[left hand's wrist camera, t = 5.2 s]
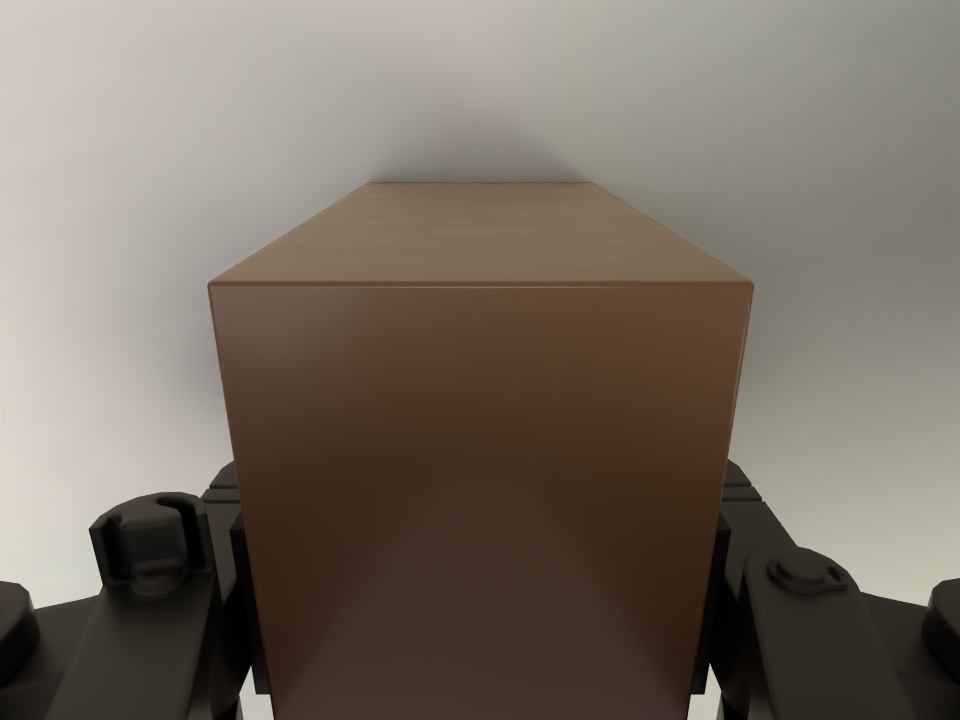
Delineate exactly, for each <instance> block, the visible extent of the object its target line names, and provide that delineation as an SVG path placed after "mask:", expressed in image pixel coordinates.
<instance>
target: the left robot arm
mask: <svg viewBox="0 0 960 720" xmlns="http://www.w3.org/2000/svg"><path fill="white" fill-rule="evenodd" d="M89 533H90V536H91V540H92V544H93V548H94V552H95V556H96V560H97V564H98V568H99V572H100V576H101V579H102V583H103V587H102V589H101V591H100V593H99V595H96V596H93V597H89V598H85V599H81V600H76V601H72V602H67V603H62V604H57V605H53V606H48V607H43V608H39V609H34V607H33V604H32V601H31V598H30V594H29V592H28V591H27V590H26V589H25V588H24V587H22V586H21V585H20V584H18V583H11V582H5V581H0V720H243V714H242V707H241V701H240V696H239V693H240V691H241V688H242V686H243V683H244V681H245V678H246V676H247V674H248V671H249V669H250V666H251V667H252V673H253V679H254V685H255V691H256V694H270V691H269V684H268V678H267V671H266V665H265V658H264V652H263V645H262V639H261V632H260V626H259V619H258V613H257V606H256V600H255V593H254V587H253V580H252V574H251V567H250V560H249V554H248V547H247V541H246V534H245V528H244V521H243V515H242V508H241V502H240V495H239V489H238V482H237V476H236V469H235V463H234V461H232V462H231V463H229V464H228V465H226V466H225V467H223V468H222V469H221V470H220V472H219V473H218V474H217V476H216V477H215V479H214V480H213V481H212V483H211V484H210V486H209V489H207V490H206V491H205V492H204V494H203V495H202V497H201V498H198V497H197V496H195V495H191V494H187V493H183V492H160V493H155V494H150V495H146V496H141V497H137V498H135V499H132V500H129V501H127V502H124V503H122V504H119V505H117V506H115V507H114V508H112V509H111V510H109V511H107V512H106V513H104V514H103V515H101V516H100V517H99V518H98V519H97V520H96V521H95V522H94V524H93V525H92V526H91V527H90V528H89ZM709 663H710V665H711V667H712V669H713V672H714V674H715V677H716V679H717V681H718V684H719V686H720V689H721V696H720V701H719V707H718V713H717V718H716V720H960V578H958V579H952V580H945V581H942V582H941V583H939V584H938V585H937V586H936V587H934V588H933V590H932V593H931V596H930V599H929V603H928V606H927V607H926V606H921V605H916V604H912V603H907V602H902V601H897V600H892V599H888V598H883V597H878V596H874V595H871V594H867V593H864V592H860V590H859V588H858V585H857V584H856V582H855V581H854V580H853V578H852V577H851V576H850V574H849V573H848V571H847V570H845V569H844V568H842V567H841V566H840V565H838V564H837V563H836V562H834V561H833V560H832V559H830V558H828V557H826V556H824V555H821V554H819V553H817V552H815V551H813V550H810V549H806V548H802V547H798V546H797V545H796V544H795V542H794V541H793V540H792V538H791V537H790V536H789V534H788V533H787V532H786V530H785V529H784V527H783V526H782V525H781V523H780V522H779V521H778V519H777V518H776V516H775V515H774V514H773V512H772V511H771V510H770V508H769V507H768V506H767V504H766V503H765V502H762V497H761V496H760V495H759V493H758V492H757V490H756V489H755V488H754V487H752V486H751V482H750V481H749V480H748V478H747V477H746V475H745V474H744V473H743V471H742V470H741V469H740V467H739V466H738V465H736V464H735V463H733V462H732V461H730V460H729V459H727V465H726V471H725V478H724V484H723V491H722V497H721V504H720V510H719V516H718V523H717V529H716V536H715V542H714V549H713V555H712V562H711V568H710V575H709V581H708V588H707V594H706V600H705V607H704V613H703V620H702V626H701V633H700V639H699V646H698V652H697V659H696V665H695V672H694V678H693V684H692V691H691V694H705V688H706V682H707V676H708V670H709Z"/></svg>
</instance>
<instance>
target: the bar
mask: <svg viewBox="0 0 960 720" xmlns="http://www.w3.org/2000/svg"><path fill="white" fill-rule="evenodd" d="M753 290H754V285H753V282H752V281H750V280H748V279H747V278H745V277H744V276H742V275H740V274H739V273H737V272H735V271H734V270H732V269H731V268H729V267H727V266H726V265H724V264H723V263H721V262H719V261H718V260H716V259H715V258H713V257H711V256H710V255H708V254H706V253H705V252H703V251H702V250H700V249H698V248H697V247H695V246H694V245H692V244H690V243H689V242H687V241H685V240H684V239H682V238H681V237H679V236H677V235H676V234H674V233H673V232H671V231H669V230H668V229H666V228H665V227H663V226H661V225H660V224H658V223H656V222H655V221H653V220H652V219H650V218H648V217H647V216H645V215H644V214H642V213H640V212H639V211H637V210H635V209H634V208H632V207H631V206H629V205H627V204H626V203H624V202H623V201H621V200H619V199H618V198H616V197H615V196H613V195H611V194H610V193H608V192H606V191H605V190H603V189H602V188H600V187H598V186H597V185H595V184H593V183H367V184H365V185H363V186H362V187H360V188H359V189H357V190H355V191H354V192H352V193H351V194H349V195H347V196H346V197H344V198H343V199H341V200H339V201H338V202H336V203H335V204H333V205H331V206H330V207H328V208H327V209H325V210H323V211H322V212H320V213H319V214H317V215H315V216H314V217H312V218H311V219H309V220H307V221H306V222H304V223H303V224H301V225H299V226H298V227H296V228H295V229H293V230H291V231H290V232H288V233H287V234H285V235H283V236H282V237H280V238H279V239H277V240H275V241H274V242H272V243H271V244H269V245H267V246H266V247H264V248H263V249H261V250H259V251H258V252H256V253H255V254H253V255H251V256H250V257H248V258H247V259H245V260H243V261H242V262H240V263H239V264H237V265H235V266H234V267H232V268H231V269H229V270H227V271H226V272H224V273H223V274H221V275H219V276H218V277H216V278H215V279H213V280H211V281H210V282H209V283H208V294H209V300H210V307H211V313H212V320H213V326H214V333H215V339H216V346H217V352H218V359H219V365H220V372H221V378H222V385H223V391H224V398H225V404H226V411H227V417H228V424H229V430H230V437H231V443H232V450H233V456H234V463H235V469H236V476H237V482H238V489H239V495H240V502H241V508H242V515H243V521H244V528H245V534H246V541H247V547H248V554H249V560H250V567H251V574H252V580H253V587H254V593H255V600H256V606H257V613H258V619H259V626H260V632H261V639H262V645H263V652H264V658H265V665H266V671H267V678H268V684H269V691H270V697H271V704H272V710H273V717H274V720H687V717H688V710H689V704H690V697H691V691H692V684H693V678H694V672H695V665H696V659H697V652H698V646H699V639H700V633H701V626H702V620H703V613H704V607H705V600H706V594H707V588H708V581H709V575H710V568H711V562H712V555H713V549H714V542H715V536H716V529H717V523H718V516H719V510H720V504H721V497H722V491H723V484H724V478H725V471H726V465H727V458H728V452H729V445H730V439H731V432H732V426H733V420H734V413H735V407H736V400H737V394H738V387H739V381H740V374H741V368H742V361H743V355H744V348H745V342H746V336H747V329H748V323H749V316H750V310H751V303H752V297H753Z"/></svg>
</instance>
